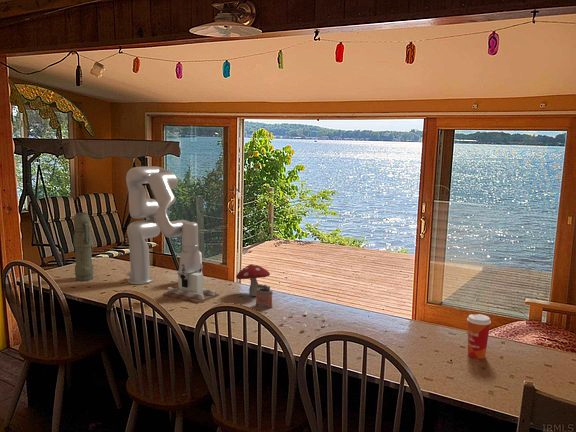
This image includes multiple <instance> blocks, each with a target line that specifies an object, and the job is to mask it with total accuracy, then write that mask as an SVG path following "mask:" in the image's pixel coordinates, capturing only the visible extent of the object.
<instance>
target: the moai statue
mask: <svg viewBox="0 0 576 432" xmlns="http://www.w3.org/2000/svg"><path fill="white" fill-rule="evenodd" d="M90 220H91V219H90V216H89V214H88V213H87V212H76V213H75V214H74V218H73V228H74V234H73V237H72V238H73V247H74V253H75V255H74V257H75V258H74V259H75V266H74V275H75V280H76V281H78V282H87V281H91V280H94V265H93V259H92V256H93V255H92V247H93V236H92V233H91V229H90V228H91V221H90Z"/></svg>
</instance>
